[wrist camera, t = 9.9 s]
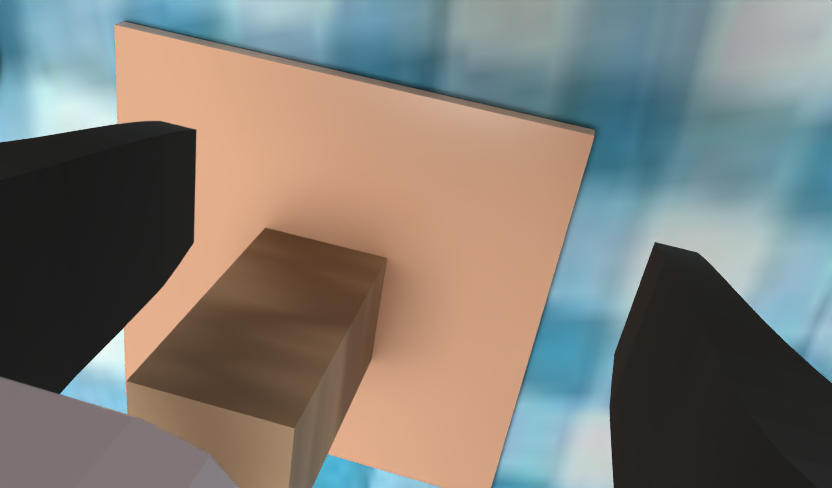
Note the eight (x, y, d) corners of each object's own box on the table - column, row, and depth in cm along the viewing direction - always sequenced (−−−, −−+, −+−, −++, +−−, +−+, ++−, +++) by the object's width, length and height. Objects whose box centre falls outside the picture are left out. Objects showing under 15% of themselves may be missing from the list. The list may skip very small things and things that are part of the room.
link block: (387, 257, 24) (294, 428, 17) (371, 359, 26) (282, 550, 19) (265, 227, 24) (125, 381, 17) (258, 330, 26) (131, 505, 19)
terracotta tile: (594, 130, 21) (594, 135, 20) (489, 490, 28) (487, 500, 27) (124, 21, 23) (114, 24, 22) (133, 386, 29) (126, 395, 29)
